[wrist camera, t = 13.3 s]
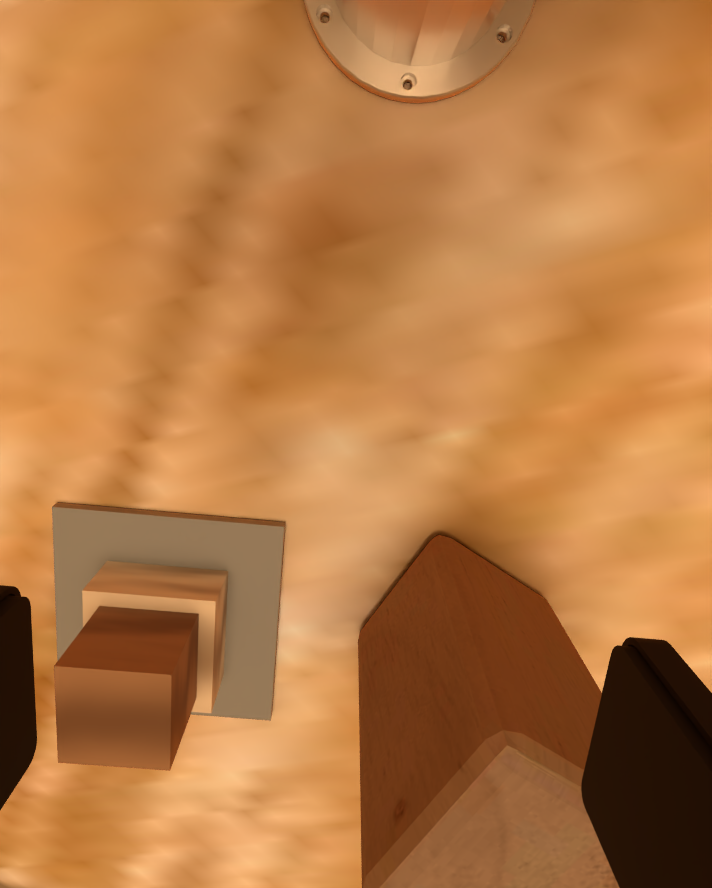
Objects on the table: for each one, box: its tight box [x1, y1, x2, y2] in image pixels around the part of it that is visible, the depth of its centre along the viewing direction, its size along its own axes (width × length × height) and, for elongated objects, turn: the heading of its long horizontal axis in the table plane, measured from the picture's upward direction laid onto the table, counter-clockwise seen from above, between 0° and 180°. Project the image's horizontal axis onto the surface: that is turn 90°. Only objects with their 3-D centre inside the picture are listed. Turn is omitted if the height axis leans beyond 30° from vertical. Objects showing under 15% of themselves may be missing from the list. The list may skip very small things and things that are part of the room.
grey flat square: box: [52, 502, 285, 721], centre depth 43 cm, size 15×15×1 cm
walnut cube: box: [54, 606, 199, 771], centre depth 36 cm, size 6×6×6 cm
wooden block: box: [358, 535, 619, 888], centre depth 34 cm, size 10×10×20 cm
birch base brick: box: [82, 561, 228, 713], centre depth 41 cm, size 8×8×4 cm
